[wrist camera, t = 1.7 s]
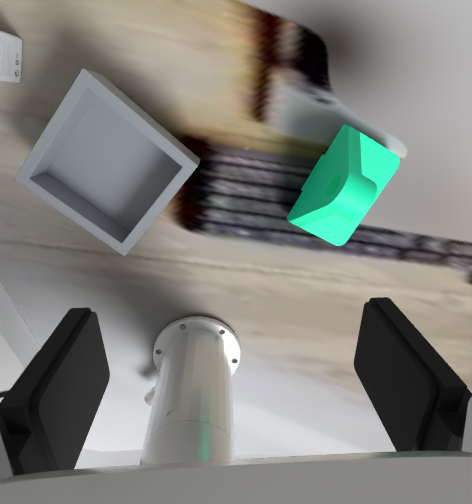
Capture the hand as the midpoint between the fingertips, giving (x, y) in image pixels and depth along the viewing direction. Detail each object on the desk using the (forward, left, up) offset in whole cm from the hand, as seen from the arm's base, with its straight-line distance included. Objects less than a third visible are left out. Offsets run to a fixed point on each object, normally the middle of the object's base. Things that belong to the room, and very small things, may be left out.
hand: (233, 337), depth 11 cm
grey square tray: (-6, +9, -29) cm, 31 cm away
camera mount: (+8, -11, -30) cm, 33 cm away
